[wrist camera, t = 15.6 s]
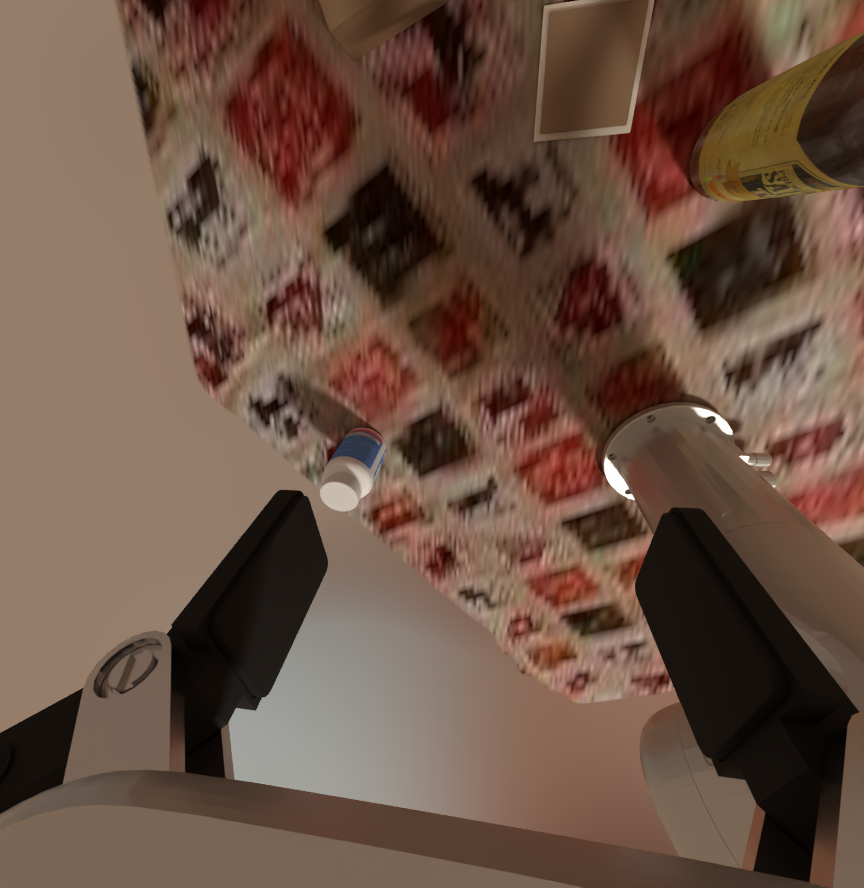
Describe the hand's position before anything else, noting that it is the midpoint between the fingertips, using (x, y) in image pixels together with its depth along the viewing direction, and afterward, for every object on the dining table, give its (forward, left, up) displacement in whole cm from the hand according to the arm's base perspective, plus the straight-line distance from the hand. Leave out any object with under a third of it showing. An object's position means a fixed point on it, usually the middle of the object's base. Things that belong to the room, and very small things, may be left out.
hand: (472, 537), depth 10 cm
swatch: (-7, -16, -28) cm, 33 cm away
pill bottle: (+14, +15, -28) cm, 35 cm away
